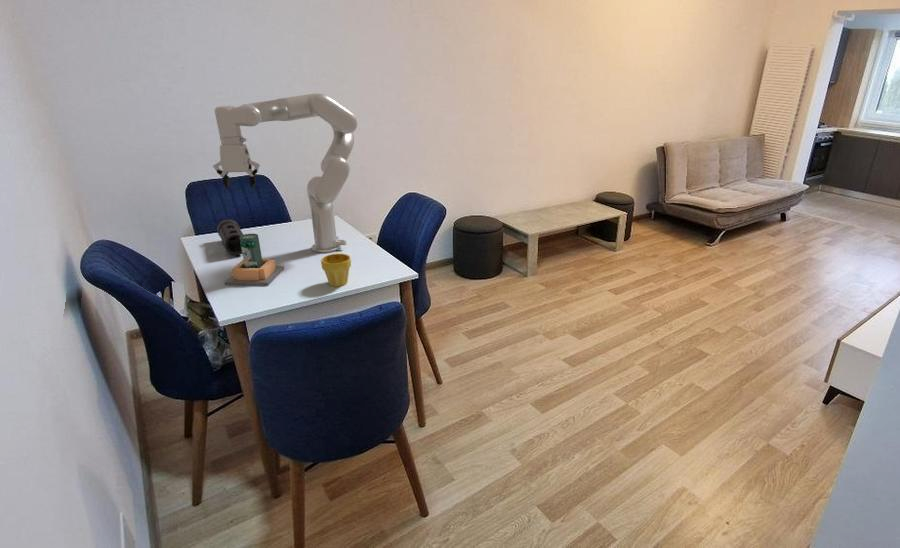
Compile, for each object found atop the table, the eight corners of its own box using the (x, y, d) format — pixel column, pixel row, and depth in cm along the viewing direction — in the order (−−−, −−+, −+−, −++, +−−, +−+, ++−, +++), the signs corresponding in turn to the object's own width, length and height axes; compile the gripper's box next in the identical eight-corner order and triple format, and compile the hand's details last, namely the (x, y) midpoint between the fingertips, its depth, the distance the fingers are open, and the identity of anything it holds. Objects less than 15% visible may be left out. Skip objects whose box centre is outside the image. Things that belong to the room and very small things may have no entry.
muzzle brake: (226, 259, 192) (221, 235, 188) (219, 241, 214) (214, 219, 210) (250, 255, 196) (246, 232, 192) (241, 237, 218) (237, 216, 214)
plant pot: (338, 291, 162) (335, 265, 158) (317, 284, 167) (314, 259, 163) (358, 281, 170) (356, 256, 166) (338, 275, 175) (335, 251, 171)
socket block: (284, 269, 181) (282, 256, 179) (268, 285, 166) (265, 272, 164) (244, 268, 182) (242, 256, 180) (224, 285, 167) (222, 272, 165)
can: (243, 274, 173) (236, 236, 167) (257, 269, 178) (251, 232, 172) (253, 278, 170) (246, 239, 164) (267, 272, 174) (261, 235, 169)
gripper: (258, 139, 175) (266, 184, 181) (213, 140, 174) (222, 185, 181) (251, 142, 168) (259, 188, 175) (203, 142, 168) (213, 189, 174)
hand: (240, 186), depth 178 cm, fingers open, 9 cm apart
